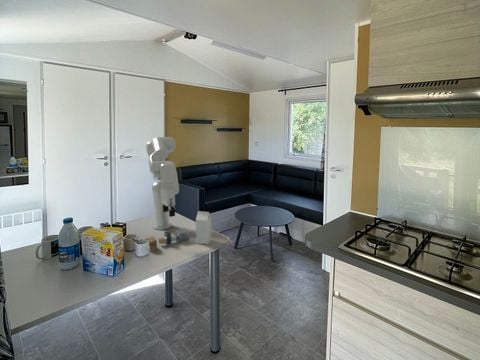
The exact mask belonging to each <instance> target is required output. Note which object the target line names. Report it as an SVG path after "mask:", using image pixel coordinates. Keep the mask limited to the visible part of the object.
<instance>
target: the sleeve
mask: <svg viewBox="0 0 480 360" xmlns="http://www.w3.org/2000/svg"><path fill="white" fill-rule="evenodd" d="M176 234H177V235H178V240H174V242H176V243H178V244H182V243H185V242H189V241H190V231H189V230H187V229H186V228H184V229H183V228H182V229H178V230H175V231H174V235H176Z"/></svg>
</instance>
